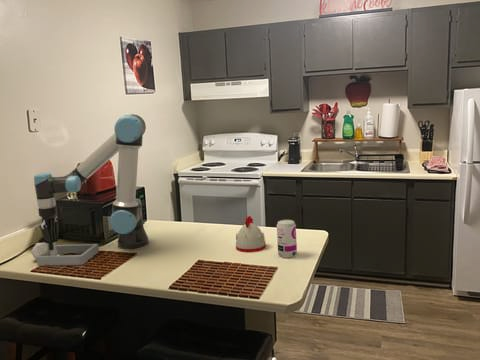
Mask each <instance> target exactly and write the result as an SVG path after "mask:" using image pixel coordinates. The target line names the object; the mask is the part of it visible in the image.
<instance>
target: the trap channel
mask: <svg viewBox="0 0 480 360" xmlns="http://www.w3.org/2000/svg"><path fill="white" fill-rule="evenodd" d="M56 249H57V256H38V257H37V261H36V262H37V266H38V267H42V266H45V265H50V266H83V264H84V265H86V263H88V262H89V261H90V260H91V259H92V258H93V257H94V255H97V254H98V253H99V252H100V249H99V243H83V244H56ZM68 253H75V254H68ZM66 254H67V255H66ZM89 259H90V260H89ZM88 260H89V261H88Z"/></svg>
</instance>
